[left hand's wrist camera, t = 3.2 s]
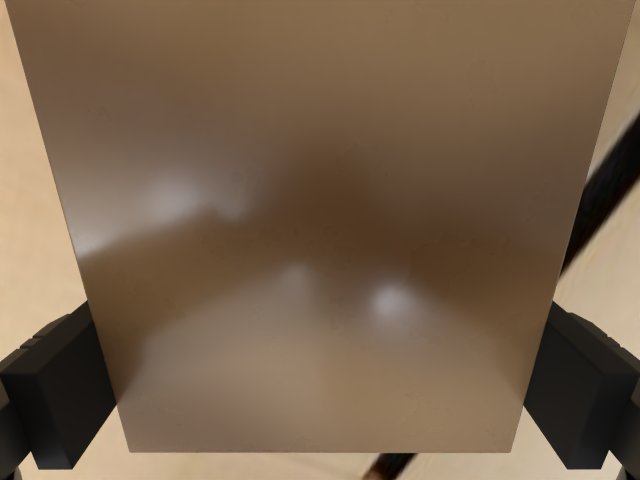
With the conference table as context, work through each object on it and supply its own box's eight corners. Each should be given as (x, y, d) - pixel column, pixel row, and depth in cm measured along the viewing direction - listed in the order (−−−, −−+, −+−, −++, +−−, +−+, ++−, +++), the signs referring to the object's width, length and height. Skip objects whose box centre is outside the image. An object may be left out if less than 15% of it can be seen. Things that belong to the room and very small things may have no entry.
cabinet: (184, -96, 14) (-174, -635, 4) (455, -96, 14) (814, -637, 4) (225, 279, 20) (129, 453, 10) (414, 279, 20) (511, 453, 10)
